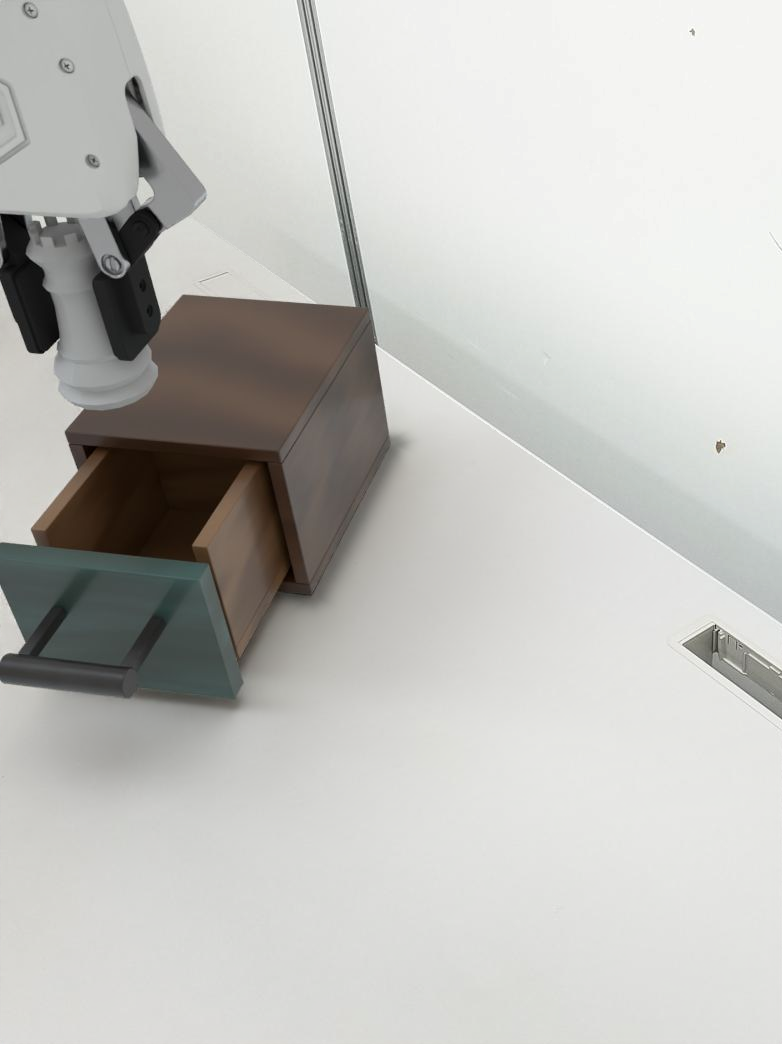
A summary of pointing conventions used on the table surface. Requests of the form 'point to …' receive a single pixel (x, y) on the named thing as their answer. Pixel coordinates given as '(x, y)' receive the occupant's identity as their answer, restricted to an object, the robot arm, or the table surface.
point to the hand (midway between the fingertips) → (95, 338)
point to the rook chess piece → (84, 323)
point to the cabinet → (264, 409)
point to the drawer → (145, 576)
